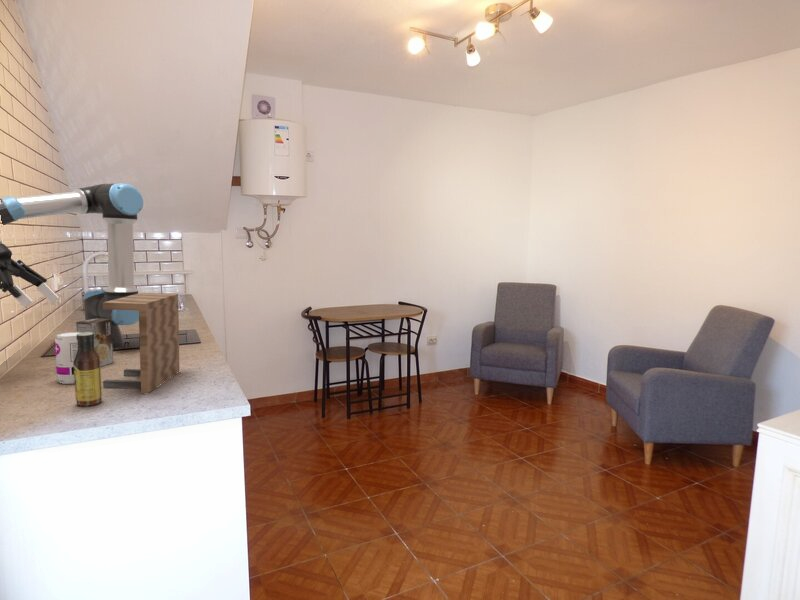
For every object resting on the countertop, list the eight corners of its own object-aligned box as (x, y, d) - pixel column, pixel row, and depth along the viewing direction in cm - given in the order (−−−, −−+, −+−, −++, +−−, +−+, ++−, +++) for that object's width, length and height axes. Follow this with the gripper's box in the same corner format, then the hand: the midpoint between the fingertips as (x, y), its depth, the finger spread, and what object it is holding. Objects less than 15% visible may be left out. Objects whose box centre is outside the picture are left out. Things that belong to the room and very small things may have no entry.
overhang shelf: (133, 370, 171) (130, 292, 167) (179, 371, 172) (178, 293, 168) (94, 392, 147) (90, 302, 143) (148, 394, 148) (145, 303, 144)
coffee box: (98, 361, 181) (97, 317, 179) (114, 362, 180) (112, 318, 178) (77, 367, 172) (75, 321, 170) (93, 369, 171) (91, 323, 169)
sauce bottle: (83, 399, 141) (80, 330, 139) (106, 399, 142) (104, 331, 139) (70, 407, 135) (66, 335, 132) (94, 407, 135) (91, 335, 133)
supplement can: (55, 386, 152) (52, 337, 150) (59, 378, 159) (56, 332, 157) (86, 383, 155) (84, 336, 153) (89, 376, 163) (87, 331, 161)
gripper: (8, 258, 164) (56, 306, 167) (-51, 258, 140) (6, 315, 142) (26, 243, 164) (73, 291, 167) (-31, 240, 140) (26, 297, 143)
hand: (42, 302), depth 155 cm, fingers open, 13 cm apart
